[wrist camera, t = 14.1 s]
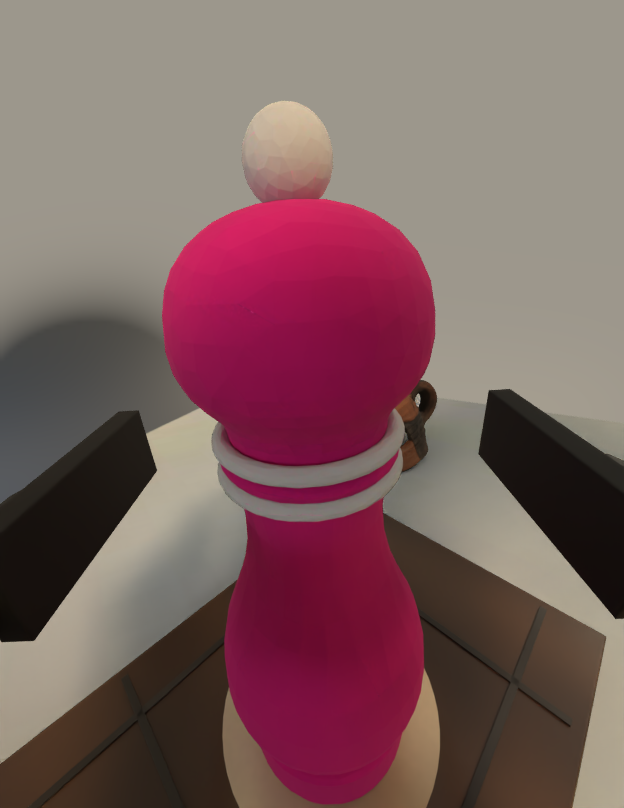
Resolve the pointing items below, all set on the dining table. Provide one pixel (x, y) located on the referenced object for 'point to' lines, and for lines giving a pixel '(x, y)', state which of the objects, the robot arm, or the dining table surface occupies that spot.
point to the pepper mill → (309, 453)
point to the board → (420, 742)
